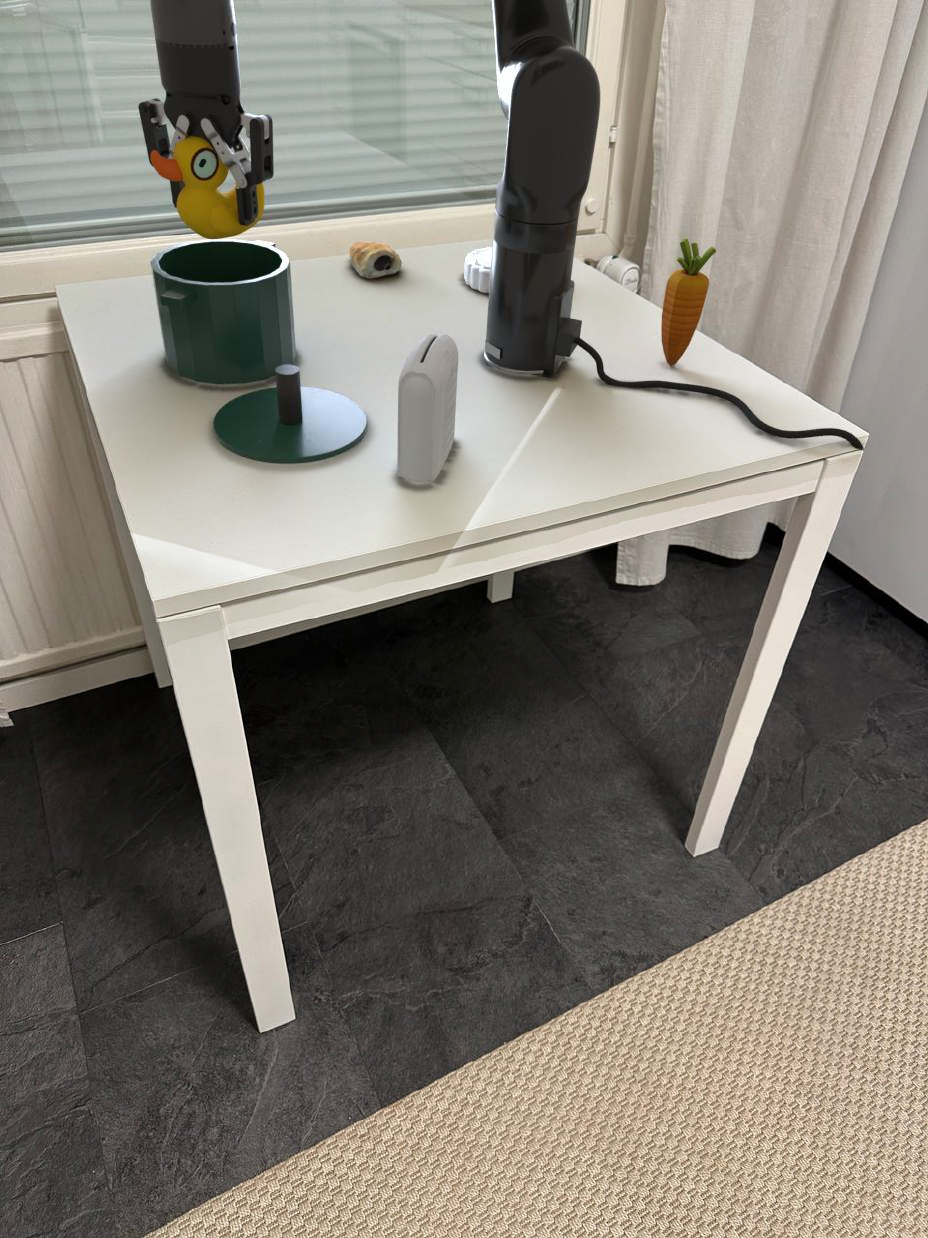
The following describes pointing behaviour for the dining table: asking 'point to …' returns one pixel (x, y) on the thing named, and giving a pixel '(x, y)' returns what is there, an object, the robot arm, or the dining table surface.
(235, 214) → the duckling
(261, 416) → the lid
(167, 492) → the dining table surface
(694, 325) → the carrot
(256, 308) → the pot
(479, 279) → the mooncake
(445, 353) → the photo printer
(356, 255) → the pastry
